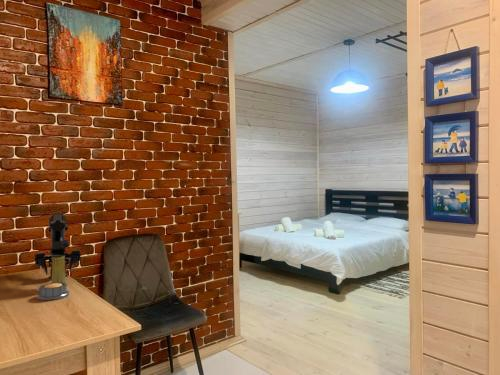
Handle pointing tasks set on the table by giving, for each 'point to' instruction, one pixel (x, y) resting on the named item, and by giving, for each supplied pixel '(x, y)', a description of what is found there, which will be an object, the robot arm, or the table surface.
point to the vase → (58, 269)
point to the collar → (52, 292)
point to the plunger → (53, 285)
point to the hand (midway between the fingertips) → (58, 273)
